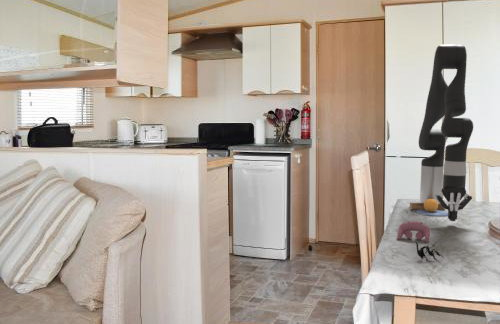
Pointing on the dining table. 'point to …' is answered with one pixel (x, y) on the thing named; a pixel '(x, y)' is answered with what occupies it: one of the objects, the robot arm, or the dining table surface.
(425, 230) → the video game controller
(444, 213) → the mark
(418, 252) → the creature
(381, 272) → the dining table surface
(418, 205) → the strip
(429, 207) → the ball
